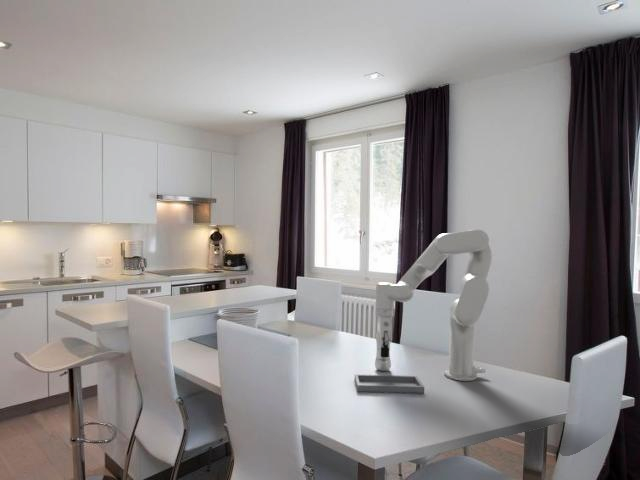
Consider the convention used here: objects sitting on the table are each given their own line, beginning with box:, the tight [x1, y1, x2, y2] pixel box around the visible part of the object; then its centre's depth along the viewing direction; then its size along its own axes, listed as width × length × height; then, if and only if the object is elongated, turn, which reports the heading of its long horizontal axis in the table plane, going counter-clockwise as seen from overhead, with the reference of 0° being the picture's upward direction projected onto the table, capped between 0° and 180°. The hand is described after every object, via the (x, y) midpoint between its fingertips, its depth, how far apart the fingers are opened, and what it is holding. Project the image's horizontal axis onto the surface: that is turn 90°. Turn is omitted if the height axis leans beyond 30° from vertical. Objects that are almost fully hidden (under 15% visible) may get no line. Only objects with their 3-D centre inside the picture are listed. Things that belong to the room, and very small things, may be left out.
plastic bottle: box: [374, 323, 392, 372], centre depth 183 cm, size 6×7×20 cm
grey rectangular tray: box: [354, 373, 425, 395], centre depth 164 cm, size 24×12×3 cm, turn 91°
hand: (383, 353), depth 183 cm, fingers open, 7 cm apart
